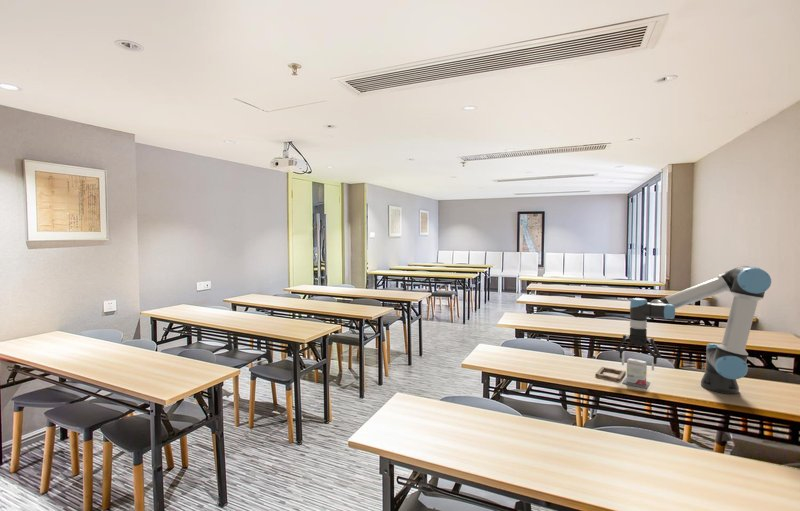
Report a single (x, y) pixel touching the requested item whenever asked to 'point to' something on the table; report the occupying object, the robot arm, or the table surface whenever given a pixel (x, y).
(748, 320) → the robot arm
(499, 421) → the table surface
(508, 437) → the table surface
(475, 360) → the table surface
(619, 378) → the frame
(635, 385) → the pad
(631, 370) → the ink box
